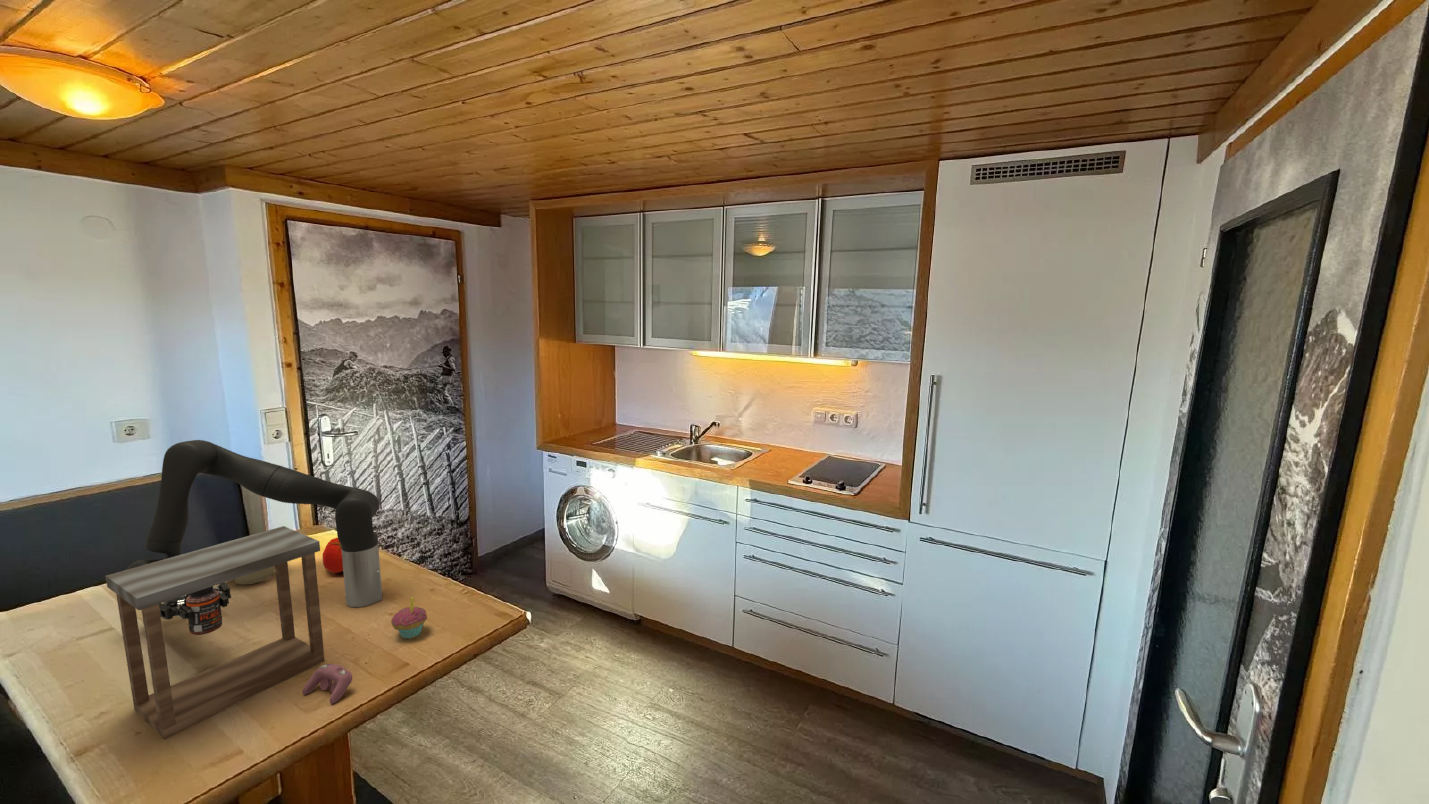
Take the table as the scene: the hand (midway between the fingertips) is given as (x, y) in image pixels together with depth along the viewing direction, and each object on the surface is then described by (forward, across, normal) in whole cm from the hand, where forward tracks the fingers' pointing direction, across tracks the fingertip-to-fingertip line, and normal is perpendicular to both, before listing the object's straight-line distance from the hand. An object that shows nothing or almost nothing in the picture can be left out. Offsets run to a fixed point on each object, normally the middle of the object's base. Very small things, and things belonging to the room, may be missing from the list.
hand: (208, 609), depth 133 cm
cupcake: (+25, +33, +16) cm, 44 cm away
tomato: (-27, +45, +16) cm, 55 cm away
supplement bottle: (-2, 0, +6) cm, 7 cm away
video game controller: (+32, +10, +16) cm, 37 cm away
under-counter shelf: (+11, 0, +16) cm, 19 cm away
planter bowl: (-45, +26, +16) cm, 54 cm away
